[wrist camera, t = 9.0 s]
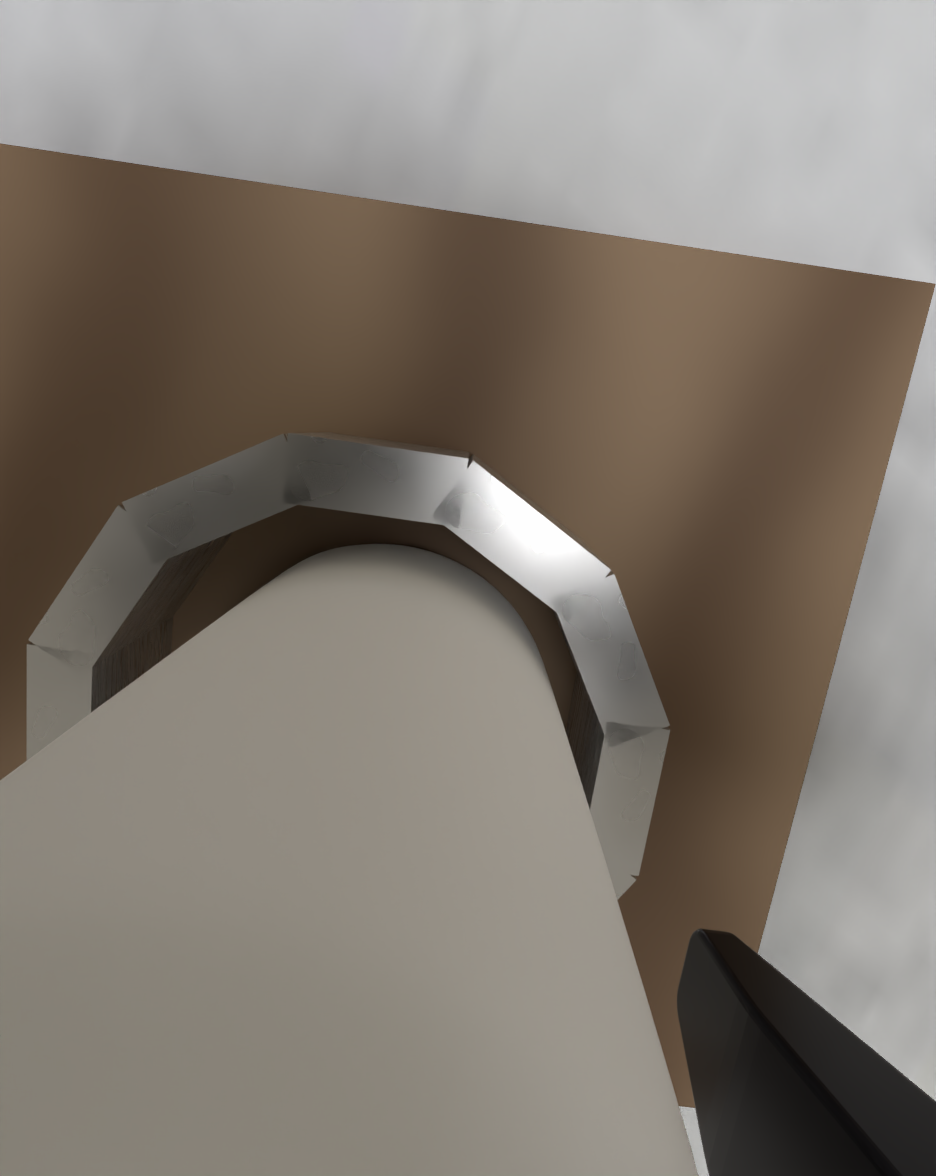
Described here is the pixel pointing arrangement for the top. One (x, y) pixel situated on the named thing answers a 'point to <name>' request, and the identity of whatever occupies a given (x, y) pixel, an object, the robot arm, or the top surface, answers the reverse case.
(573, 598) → the ring collar
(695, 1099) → the robot arm
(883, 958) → the top surface
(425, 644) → the can
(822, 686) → the base plate
